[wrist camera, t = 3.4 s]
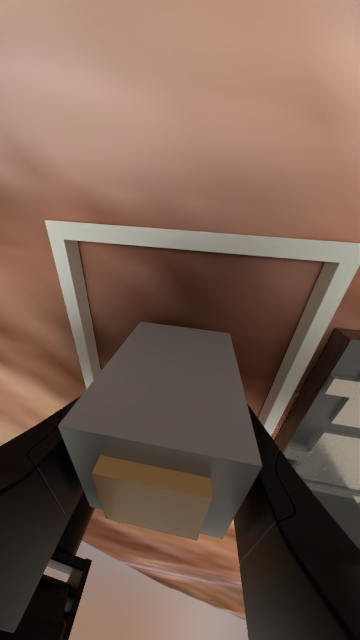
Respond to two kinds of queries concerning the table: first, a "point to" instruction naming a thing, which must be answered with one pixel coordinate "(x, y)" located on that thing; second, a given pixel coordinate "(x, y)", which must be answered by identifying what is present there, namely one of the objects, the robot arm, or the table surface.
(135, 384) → the plug
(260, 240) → the white square frame
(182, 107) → the table surface
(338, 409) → the strip
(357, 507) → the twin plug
